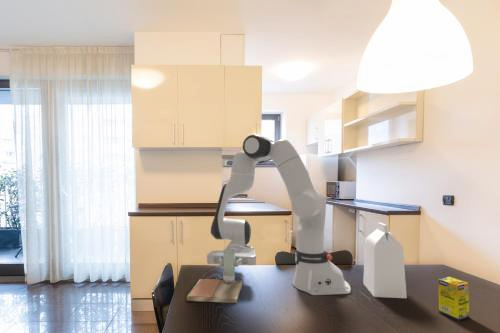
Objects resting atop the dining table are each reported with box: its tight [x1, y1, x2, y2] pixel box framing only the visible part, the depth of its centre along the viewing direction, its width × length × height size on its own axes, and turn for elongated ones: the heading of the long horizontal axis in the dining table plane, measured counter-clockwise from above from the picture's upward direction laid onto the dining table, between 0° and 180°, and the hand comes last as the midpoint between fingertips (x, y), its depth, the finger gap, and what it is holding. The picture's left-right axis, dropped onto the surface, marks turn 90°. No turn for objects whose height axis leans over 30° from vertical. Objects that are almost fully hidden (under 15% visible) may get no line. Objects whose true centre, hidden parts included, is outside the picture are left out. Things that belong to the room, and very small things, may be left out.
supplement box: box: [437, 276, 470, 322], centre depth 84 cm, size 6×6×11 cm
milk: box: [363, 222, 408, 299], centre depth 103 cm, size 12×12×26 cm
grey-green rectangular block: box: [222, 248, 236, 284], centre depth 101 cm, size 4×4×12 cm
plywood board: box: [186, 278, 243, 304], centre depth 101 cm, size 18×16×2 cm
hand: (228, 264), depth 100 cm, fingers closed on grey-green rectangular block, 4 cm apart
